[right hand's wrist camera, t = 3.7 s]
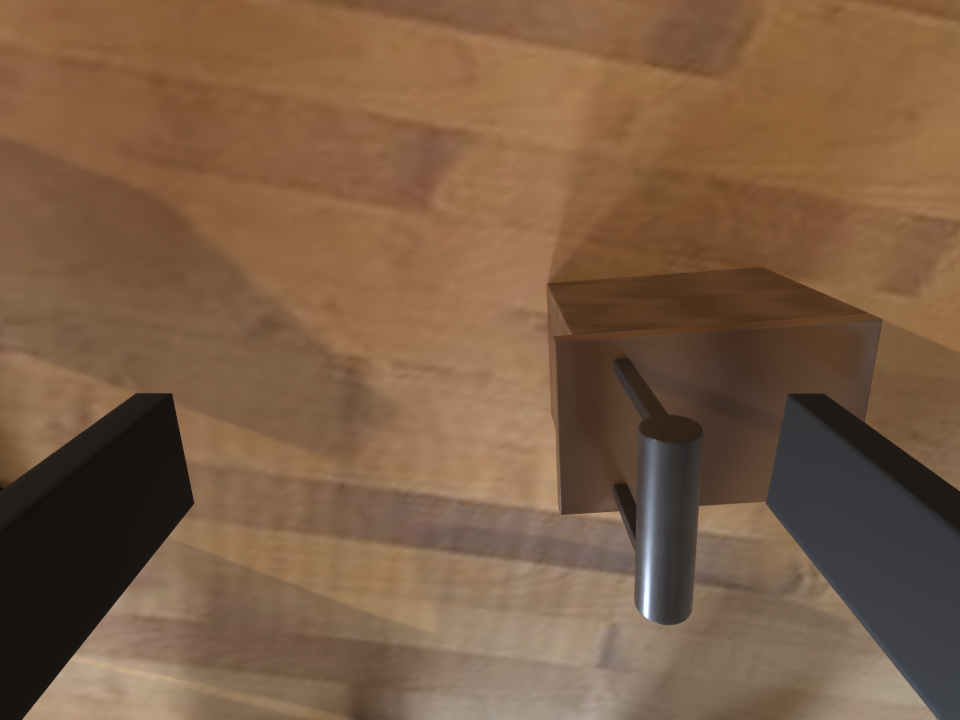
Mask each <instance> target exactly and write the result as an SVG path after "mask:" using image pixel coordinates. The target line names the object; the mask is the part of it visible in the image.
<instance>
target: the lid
mask: <svg viewBox="0 0 960 720" xmlns="http://www.w3.org/2000/svg"><path fill="white" fill-rule="evenodd" d="M881 324H882V319H881V318H878V317H876V316H874V315H871V314H869V313H865V314H852V315H838V316H824V317H810V318H796V319H783V320H769V321H755V322H741V323H727V324H713V325H700V326H686V327H672V328H658V329H644V330H631V331H617V332H603V333H589V334H575V335H561V336H553V366H554V395H555V425H556V455H557V485H558V505H559V510H560V514H561V515H568V514H583V513H598V512H614V511H620V514H621V517H622V519H623V522H624V524H625V527H626V530H627V532H628V535H629V537H630V540H631V543H632V545H633V548H634V550H635V596H634V600H635V605H636V607H637V609H638V611H639V612H640V613H641V614H642V615H643V616H644V617H645V618H647V619H649V620H651V621H653V622H655V623H658V624H663V625H675V624H679V623H681V622H683V621H685V620H686V619H687V618H688V617H689V616H690V614H691V612H692V603H693V587H694V572H695V557H696V542H697V527H698V512H699V506H706V505H722V504H737V503H752V502H766V500H767V495H768V490H769V485H770V480H771V475H772V470H773V465H774V460H775V455H776V450H777V446H778V441H779V436H780V431H781V426H782V421H783V416H784V411H785V406H786V401H787V396H788V393H824V394H825V395H827V396H828V397H830V398H831V399H832V400H834V401H835V402H837V403H838V404H839V405H841V406H842V407H843V408H845V409H846V410H848V411H849V412H850V413H852V414H853V415H855V416H856V417H857V418H859V419H860V420H861V421H863V422H865V417H866V411H867V405H868V399H869V394H870V388H871V382H872V376H873V370H874V365H875V359H876V353H877V347H878V342H879V336H880V330H881Z"/></svg>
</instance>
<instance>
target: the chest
mask: <svg viewBox="0 0 960 720" xmlns="http://www.w3.org/2000/svg"><path fill="white" fill-rule="evenodd" d="M547 303H548V331H549V359H550V386H551V414H552V418H553V421H554V425H555V395H554V366H553V336H561V335H575V334H589V333H603V332H617V331H631V330H644V329H658V328H672V327H686V326H700V325H713V324H727V323H741V322H755V321H769V320H783V319H796V318H810V317H824V316H838V315H852V314H865V313H867V312H865V311H863V310H860V309H858V308H856V307H853V306H851V305H849V304H846V303H844V302H842V301H839V300H837V299H835V298H832V297H830V296H828V295H825V294H823V293H821V292H818V291H816V290H814V289H811V288H809V287H807V286H804V285H802V284H800V283H797V282H795V281H793V280H790V279H788V278H786V277H783V276H781V275H779V274H777V273H774V272H772V271H770V270H767V269H765V268H750V269H737V270H724V271H710V272H697V273H683V274H670V275H656V276H643V277H630V278H616V279H603V280H589V281H576V282H563V283H549V284H547ZM555 428H556V425H555Z"/></svg>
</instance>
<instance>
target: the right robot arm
mask: <svg viewBox="0 0 960 720" xmlns="http://www.w3.org/2000/svg"><path fill="white" fill-rule="evenodd" d="M193 504H194V500H193V495H192V490H191V485H190V480H189V475H188V470H187V465H186V460H185V455H184V450H183V446H182V441H181V436H180V431H179V426H178V421H177V416H176V411H175V406H174V401H173V396H172V393H136V394H135V395H133V396H132V397H130V398H129V399H128V400H126V401H125V402H123V403H122V404H121V405H119V406H118V407H117V408H115V409H114V410H112V411H111V412H110V413H108V414H107V415H105V416H104V417H103V418H101V419H100V420H99V421H97V422H96V423H94V424H93V425H92V426H90V427H89V428H87V429H86V430H85V431H83V432H82V433H81V434H79V435H78V436H76V437H75V438H74V439H72V440H71V441H69V442H68V443H67V444H65V445H64V446H63V447H61V448H60V449H58V450H57V451H56V452H54V453H53V454H51V455H50V456H49V457H47V458H46V459H45V460H43V461H42V462H40V463H39V464H38V465H36V466H35V467H33V468H32V469H31V470H29V471H28V472H27V473H25V474H24V475H22V476H21V477H20V478H18V479H17V480H15V481H14V482H13V483H11V484H10V485H9V486H7V487H6V488H4V489H3V490H1V489H0V720H22V719H23V718H24V717H25V715H26V714H27V713H28V712H29V710H30V709H31V708H32V706H33V705H34V704H35V703H36V701H37V700H38V699H39V698H40V696H41V695H42V694H43V693H44V691H45V690H46V689H47V688H48V686H49V685H50V684H51V683H52V681H53V680H54V679H55V678H56V676H57V675H58V674H59V673H60V671H61V670H62V669H63V668H64V666H65V665H66V664H67V663H68V661H69V660H70V659H71V658H72V656H73V655H74V654H75V653H76V651H77V650H78V649H79V648H80V646H81V645H82V644H83V642H84V641H85V640H86V639H87V637H88V636H89V635H90V634H91V632H92V631H93V630H94V629H95V627H96V626H97V625H98V624H99V622H100V621H101V620H102V619H103V617H104V616H105V615H106V614H107V612H108V611H109V610H110V609H111V607H112V606H113V605H114V604H115V602H116V601H117V600H118V599H119V597H120V596H121V595H122V594H123V592H124V591H125V590H126V589H127V587H128V586H129V585H130V584H131V582H132V581H133V580H134V578H135V577H136V576H137V575H138V573H139V572H140V571H141V570H142V568H143V567H144V566H145V565H146V563H147V562H148V561H149V560H150V558H151V557H152V556H153V555H154V553H155V552H156V551H157V550H158V548H159V547H160V546H161V545H162V543H163V542H164V541H165V540H166V538H167V537H168V536H169V535H170V533H171V532H172V531H173V530H174V528H175V527H176V526H177V525H178V523H179V522H180V521H181V520H182V518H183V517H184V516H185V514H186V513H187V512H188V511H189V509H190V508H191V507H192V506H193ZM766 504H767V506H768V507H769V508H770V509H771V511H772V512H773V513H774V514H775V516H776V517H777V518H778V520H779V521H780V522H781V523H782V525H783V526H784V527H785V528H786V530H787V531H788V532H789V533H790V535H791V536H792V537H793V538H794V540H795V541H796V542H797V543H798V545H799V546H800V547H801V548H802V550H803V551H804V552H805V553H806V555H807V556H808V557H809V558H810V560H811V561H812V562H813V563H814V565H815V566H816V567H817V568H818V570H819V571H820V572H821V573H822V575H823V576H824V577H825V578H826V580H827V581H828V582H829V584H830V585H831V586H832V587H833V589H834V590H835V591H836V592H837V594H838V595H839V596H840V597H841V599H842V600H843V601H844V602H845V604H846V605H847V606H848V607H849V609H850V610H851V611H852V612H853V614H854V615H855V616H856V617H857V619H858V620H859V621H860V622H861V624H862V625H863V626H864V627H865V629H866V630H867V631H868V632H869V634H870V635H871V636H872V637H873V639H874V640H875V641H876V642H877V644H878V645H879V646H880V648H881V649H882V650H883V651H884V653H885V654H886V655H887V656H888V658H889V659H890V660H891V661H892V663H893V664H894V665H895V666H896V668H897V669H898V670H899V671H900V673H901V674H902V675H903V676H904V678H905V679H906V680H907V681H908V683H909V684H910V685H911V686H912V688H913V689H914V690H915V691H916V693H917V694H918V695H919V696H920V698H921V699H922V700H923V701H924V703H925V704H926V705H927V706H928V708H929V709H930V710H931V712H932V713H933V714H934V715H935V717H936V718H937V719H938V720H960V491H958V490H957V489H956V488H954V487H953V486H951V485H950V484H949V483H947V482H946V481H945V480H943V479H942V478H940V477H939V476H938V475H936V474H935V473H933V472H932V471H931V470H929V469H928V468H927V467H925V466H924V465H922V464H921V463H920V462H918V461H917V460H915V459H914V458H913V457H911V456H910V455H909V454H907V453H906V452H904V451H903V450H902V449H900V448H899V447H897V446H896V445H895V444H893V443H892V442H891V441H889V440H888V439H886V438H885V437H884V436H882V435H881V434H879V433H878V432H877V431H875V430H874V429H873V428H871V427H870V426H868V425H867V424H866V423H864V422H863V421H861V420H860V419H859V418H857V417H856V416H855V415H853V414H852V413H850V412H849V411H848V410H846V409H845V408H843V407H842V406H841V405H839V404H838V403H837V402H835V401H834V400H832V399H831V398H830V397H828V396H827V395H825V394H824V393H788V396H787V401H786V406H785V411H784V416H783V421H782V426H781V431H780V436H779V441H778V446H777V450H776V455H775V460H774V465H773V470H772V475H771V480H770V485H769V490H768V495H767V500H766Z"/></svg>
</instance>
